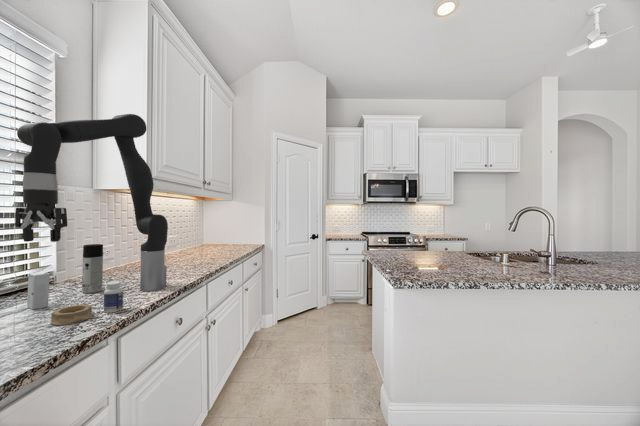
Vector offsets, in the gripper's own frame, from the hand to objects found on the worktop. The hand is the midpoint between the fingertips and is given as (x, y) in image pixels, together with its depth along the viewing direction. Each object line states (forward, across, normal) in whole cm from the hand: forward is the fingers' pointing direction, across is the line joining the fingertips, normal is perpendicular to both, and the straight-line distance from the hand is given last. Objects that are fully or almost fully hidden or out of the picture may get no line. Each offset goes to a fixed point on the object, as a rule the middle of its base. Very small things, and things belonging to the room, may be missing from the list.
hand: (41, 241), depth 85 cm
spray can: (+26, +12, -32) cm, 43 cm away
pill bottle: (+26, -13, -11) cm, 31 cm away
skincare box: (+26, +16, -13) cm, 33 cm away
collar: (+25, -6, -3) cm, 26 cm away
